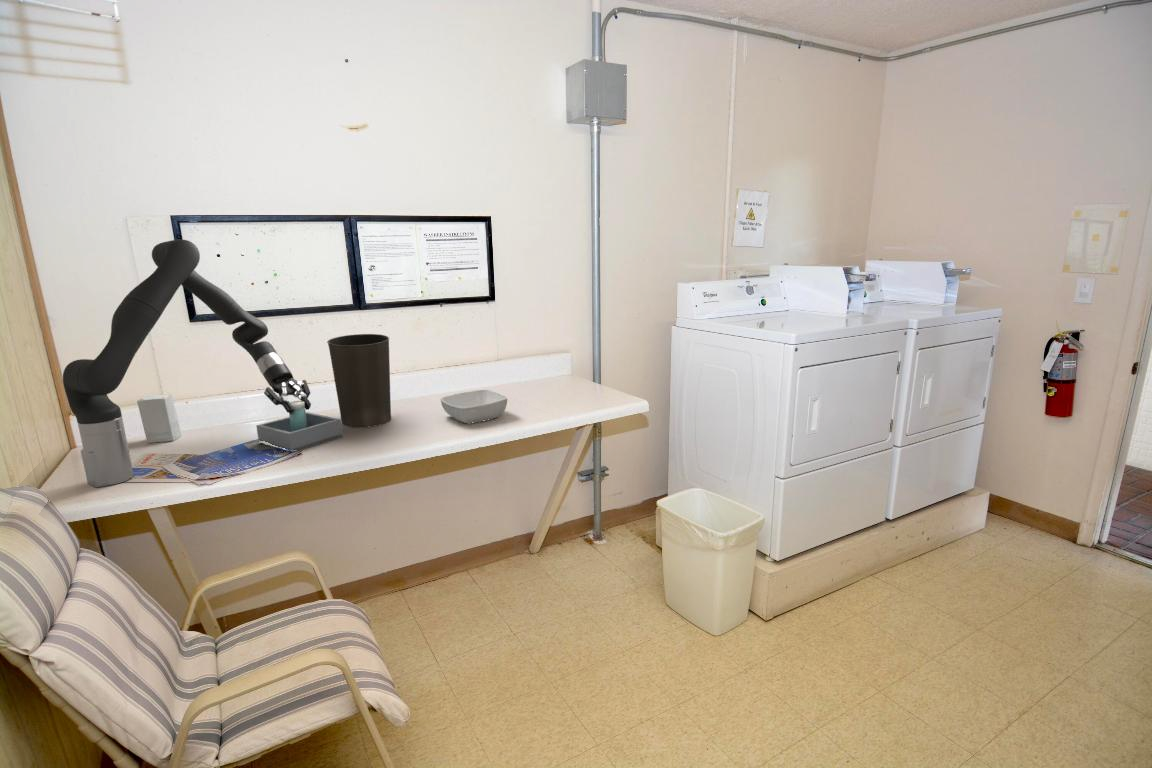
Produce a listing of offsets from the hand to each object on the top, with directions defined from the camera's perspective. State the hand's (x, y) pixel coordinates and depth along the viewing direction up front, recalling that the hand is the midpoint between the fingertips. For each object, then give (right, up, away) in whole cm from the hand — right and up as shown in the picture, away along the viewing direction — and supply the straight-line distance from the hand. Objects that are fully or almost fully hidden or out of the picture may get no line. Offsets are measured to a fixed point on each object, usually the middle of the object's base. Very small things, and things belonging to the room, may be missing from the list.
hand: (300, 409), depth 185 cm
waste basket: (+13, -5, +23) cm, 27 cm away
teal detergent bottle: (-1, -8, +3) cm, 9 cm away
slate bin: (-1, -10, +3) cm, 11 cm away
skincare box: (-48, -10, +6) cm, 50 cm away
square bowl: (+51, -4, +26) cm, 58 cm away
